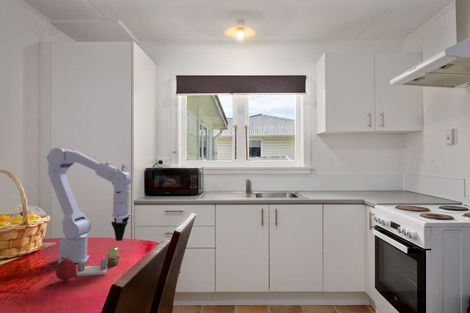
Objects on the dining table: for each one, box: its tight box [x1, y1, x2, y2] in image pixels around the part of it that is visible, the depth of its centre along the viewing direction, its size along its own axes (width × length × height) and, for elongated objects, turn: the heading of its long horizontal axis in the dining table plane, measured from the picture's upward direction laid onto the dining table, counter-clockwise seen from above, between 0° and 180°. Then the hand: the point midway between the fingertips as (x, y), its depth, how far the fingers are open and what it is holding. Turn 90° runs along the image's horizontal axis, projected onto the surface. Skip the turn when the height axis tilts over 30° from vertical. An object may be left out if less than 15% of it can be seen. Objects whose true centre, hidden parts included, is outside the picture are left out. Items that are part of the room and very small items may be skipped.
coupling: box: [106, 246, 121, 267], centre depth 120 cm, size 5×5×6 cm
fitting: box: [76, 257, 108, 277], centre depth 111 cm, size 9×7×4 cm
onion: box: [55, 256, 77, 282], centre depth 102 cm, size 6×6×8 cm
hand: (119, 238), depth 121 cm, fingers open, 7 cm apart
